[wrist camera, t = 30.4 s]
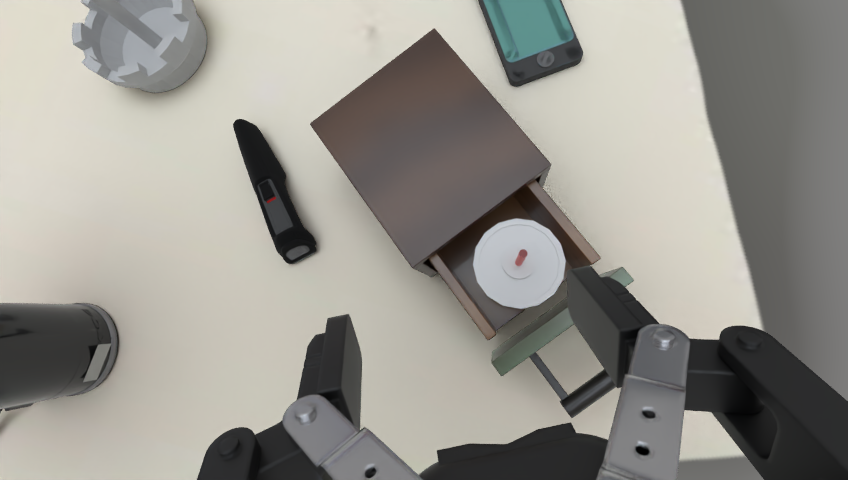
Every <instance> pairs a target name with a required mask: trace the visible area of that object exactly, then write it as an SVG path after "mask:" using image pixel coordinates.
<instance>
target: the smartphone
mask: <svg viewBox="0 0 848 480" xmlns="http://www.w3.org/2000/svg"><path fill="white" fill-rule="evenodd" d="M478 1H479V4H480V6H481V9H482V11H483V14H484V17H485V19H486V22H487V25H488V27H489V30H490V32H491V35H492V38H493V40H494V43H495V45H496V48H497V51H498V53H499V56H500V59H501V61H502V64H503V66H504V69H505V72H506V74H507V77H508V79H509V82H510V84H511V85H513V86H520V85H523V84H525V83H528V82H531V81H534V80H536V79H539V78H542V77H545V76H547V75H550V74H553V73H555V72H558V71H561V70H564V69H566V68H569V67H572V66H575V65H577V64H578V63H580V61H581V58H582V55H583V51H582V48H581V46H580V44H579V41H578V39H577V37H576V34H575V32H574V30H573V27H572V25H571V23H570V20H569V18H568V16H567V13H566V11H565V8H564V6H563V4H562V1H561V0H478Z"/></svg>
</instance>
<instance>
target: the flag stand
mask: <svg viewBox="0 0 848 480" xmlns="http://www.w3.org/2000/svg"><path fill="white" fill-rule="evenodd" d="M81 3H83V4H84V5H85V6H87V7H88V8H89V9H90V11H89V13H88V15H87V17H86V20H85V24H83V23H73V28H72V39H73V45H75V46H77V47H78V48H80V49H81V50H83V52H84V54H85V57H86V58H85V59H84V60H83V61H82V63H83V64H84V65H85V66H86V67H87V68H88V69H90V70H92V71H93V72H95V73H97V74H98V75H100V76H102V77H103V78H105V79H107V80H109V81H110V82H112V83H114V84H116V85H119V86H122V87H129V88H137V87H138V88H140V89H141V90H144V91H147V92H156V93H159V92H165V91H169V90H172V89H174V88H176V87H178V86H180V85H181V84H183V83H184V82H186V81H187V80H188V79H189V78H190V77H191V76H192V75H193V74H194V73H195V72H196V70H197V69H198V67H199V66H200V64H201V62H202V60H203V57H204V55H205V51H206V46H207V35H206V29H205V27H204V24H203V22H202V21H201V19H200V18H199V17H198V15H197V13H196V7H195V5H194V3H193V0H81Z"/></svg>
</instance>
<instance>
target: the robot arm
mask: <svg viewBox="0 0 848 480" xmlns="http://www.w3.org/2000/svg"><path fill="white" fill-rule="evenodd" d="M567 300H568V310H569V314H570V317H571V319H572V321H573V323H574V324H575V326H576V327H577V329H578V330H579V332H580V333H581V335H582V336H583V338H584V339H585V340H586V342H587V343H588V345H589V346H590V348H591V349H592V351H593V352H594V354H595V355H596V357H597V358H598V360H599V361H600V363H601V364H602V366H603V367H604V369H605V370H606V372H607V373H608V375H609V376H610V378H611V379H612V381H613V382H614V384H615V385H616V387H617V388H620V387H622V388H621V392H620V396H619V400H618V404H617V408H616V412H615V416H614V420H613V424H612V428H611V432H610V436H609V440H606V439H603V438H601V437H597V436H593V435H589V434H582V433H576V432H575V430H574V428H573V426H572V424H571V423H566V424H561V425H556V426H552V427H547V428H542V429H538V430H536V431H534V432H532V433H530V434H527V435H525V436H523V437H521V438H519V439H517V440H515V441H513V442H511V443H509V444H466V445H461V446H456V447H452V448H447V449H442V450H437V454H438V461H439V462H437V463H435V464H433V465H431V466H430V467H428V468H427V469H425V470H424V471H423V472H422V473H420V474H419V475H418V474H417V473H415V472H414V471H413V470H412V469H411V468H410V467H409V466H408V465H407V464H406V463H405V462H404V461H402V460H401V459H400V458H399V457H398V456H397V455H396V454H395V453H394V452H393V451H392V450H391V449H389V448H388V447H387V446H386V445H385V444H384V443H383V442H382V441H381V440H380V439H379V438H378V437H376V436H375V435H374V434H373V433H372V432H371V431H370V430H369V429H367V428H363V429H361V430H360V410H361V379H362V357H361V351H360V347H359V344H358V340H357V337H356V334H355V331H354V327H353V324H352V321H351V318H350V316H349V314H346V315H341V316H336V317H331V318H328V319H327V325H326V331H325V333H323V334H318V335H315V336H314V338H313V339H312V341H311V342H310V344H309V345H308V347H307V352H306V359H305V362H304V368H303V372H302V377H301V382H300V387H299V392H298V397H297V400H296V401H295V402H294V403H292V404H291V405H290V406H289V407H288V409H287V410H286V412H285V413H284V416H283V420H282V421H281V422H279V423H278V424H276V425H274V426H272V427H270V428H268V429H266V430H264V431H262V432H260V433H258V434H256V435H254V433H253V431H252V430H250V429H248V428H244V427H239V428H235V429H231V430H229V431H227V432H225V433H223V434H222V435H221V436H219V437H218V438H217V439H216V440H215V441H214V442H213V443H212V444H211V445H210V446H209V448H208V450H207V452H206V454H205V457H204V460H203V463H202V466H201V469H200V472H199V475H198V478H197V480H677V473H678V464H679V455H680V445H681V435H682V425H683V416H684V410H693V411H707V412H712V414H713V415H714V416H715V417H716V419H717V420H718V421H719V422H720V424H721V425H722V426H723V428H724V429H725V430H726V431H727V433H728V434H729V435H730V437H731V438H732V439H733V440H734V442H735V443H736V444H737V445H738V447H739V448H740V449H741V451H742V452H743V453H744V454H745V456H746V457H747V458H748V460H749V461H750V462H751V463H752V464H753V466H754V467H755V468H756V470H757V471H758V472H759V474H760V475H761V476H762V477H763V479H764V480H848V401H846V400H845V399H844V398H843V397H842V396H841V395H840V394H838V393H837V392H836V391H835V390H834V389H832V388H831V387H830V386H829V385H828V384H827V383H826V382H824V381H823V380H822V379H821V378H820V377H818V375H816V374H815V373H814V372H813V371H812V370H811V369H809V368H808V367H807V366H806V365H805V364H804V363H802V362H801V361H800V360H799V359H798V358H797V357H795V356H794V355H793V354H792V353H791V352H789V350H787V349H786V348H785V347H784V346H782V344H780V343H779V342H778V341H777V340H776V339H775V338H773V337H772V336H771V335H769V334H768V333H766V332H764V331H762V330H759V329H756V328H753V327H748V326H731V327H728V328H725V329H724V330H723V331H722V332H721V334H720V338H719V340H704V339H689V338H688V337H687V335H686V334H685V333H683V332H682V331H681V330H679V329H677V328H675V327H672V326H669V325H664V324H659V323H658V322H657V321H656V319H655V318H654V317H653V316H652V315H651V314H650V313H649V312H648V311H647V310H646V309H645V308H644V307H643V306H642V305H641V304H640V303H639V302H638V301H636V298H635V297H634V296H633V295H632V294H631V293H629V291H628V290H627V289H626V288H625V287H624V286H623V285H622V284H621V283H620V282H618V281H616V280H614V279H612V278H610V277H608V276H605V277H600V276H599V275H598V274H597V273H596V272H595V270H594V269H593V268H592V267H591V266H585V267H580V268H575V269H570V270H568V272H567ZM117 344H118V341H117V333H116V329H115V326H114V323H113V321H112V320H111V318H110V317H109V315H108V314H107V313H106V312H105V311H104V310H102V309H101V308H99V307H98V306H95V305H92V304H87V303H75V304H39V303H0V412H1V411H2V409H5V411H9V410H14V409H18V408H23V407H28V406H31V405H32V404H34V403H35V402H40V401H45V400H50V399H55V398H59V397H63V396H73V395H78V394H83V393H86V392H88V391H90V390H92V389H94V388H95V387H97V386H98V385H99V384H100V383H101V382H102V381H103V380H104V379H105V378H106V376H107V375H108V374H109V372H110V370H111V368H112V366H113V364H114V361H115V358H116V353H117Z"/></svg>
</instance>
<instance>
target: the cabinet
mask: <svg viewBox="0 0 848 480" xmlns="http://www.w3.org/2000/svg"><path fill="white" fill-rule="evenodd" d="M310 125H311V126H312V128H313V129H314V131H315V132H316V133H317V135H318V136H319V138H320V139H321V141H322V142H323V143H324V145H325V146H326V148H327V149H328V150H329V152H330V153H331V155H332V156H333V157H334V159H335V160H336V162H337V163H338V164H339V166H340V167H341V169H342V170H343V171H344V173H345V174H346V176H347V177H348V178H349V180H350V181H351V183H352V184H353V185H354V187H355V188H356V190H357V191H358V193H359V194H360V195H361V197H362V198H363V200H364V201H365V202H366V204H367V205H368V207H369V208H370V209H371V211H372V212H373V214H374V215H375V216H376V218H377V219H378V221H379V222H380V223H381V225H382V226H383V228H384V229H385V230H386V232H387V233H388V235H389V236H390V237H391V239H392V240H393V242H394V243H395V245H396V246H397V247H398V249H399V250H400V252H401V253H402V254H403V256H404V257H405V259H406V260H407V261H408V263H409V264H410V266H411V267H412V268H414V269H416V270H418V271H420V272H422V273H424V274H426V275H428V276H430V277H433V276H434V275H436V274H437V273H438V271H437V270H436V269H435V267H434V266H433V264H432V263H431V262H430V260H429V259H428V258H430V257H431V256H432V255H434V254H435V253H436V252H438V251H439V250H441V249H442V248H443V247H445V246H446V245H447V244H449V243H450V242H451V241H453V240H454V239H455V238H457V237H458V236H459V235H461V234H462V233H463V232H465V231H466V230H467V229H469V228H470V227H471V226H473V225H474V224H476V223H477V222H478V221H480V220H481V219H482V218H484V217H485V216H486V215H488V214H489V213H490V212H492V211H493V210H494V209H496V208H497V207H498V206H500V205H501V204H502V203H504V202H505V201H506V200H508V199H509V198H511V197H512V196H513V195H515V194H516V193H517V192H519V191H520V190H521V189H523V188H524V187H525V186H527V185H528V184H529V183H531V182H532V181H533V180H536V181H537V182H538V183H539V185H540V186H541V187H542V188H543V185H544V183H545V180H546V177H547V175H548V172H549V170H550V167H551V163H550V162H549V161H548V160H547V159H546V158H545V156H544V155H543V154H542V153H541V152H540V151H539V149H538V148H537V147H536V146H535V145H534V144H533V142H532V141H531V140H530V139H529V138H528V137H527V135H526V134H525V133H524V132H523V131H522V130H521V128H520V127H519V126H518V125H517V124H516V123H515V121H514V120H513V119H512V118H511V117H510V116H509V115H508V113H507V112H506V111H505V110H504V109H503V108H502V106H501V105H500V104H499V103H498V102H497V101H496V99H495V98H494V97H493V96H492V95H491V94H490V92H489V91H488V90H487V89H486V88H485V87H484V85H483V84H482V83H481V82H480V81H479V80H478V78H477V77H476V76H475V75H474V74H473V73H472V71H471V70H470V69H469V68H468V67H467V66H466V64H465V63H464V62H463V61H462V60H461V59H460V57H459V56H458V55H457V54H456V53H455V52H454V50H453V49H452V48H451V47H450V46H449V45H448V43H447V42H446V41H445V40H444V39H443V38H442V36H441V35H440V34H439V33H438V32H437V31H436V30H435V29H433V30H431V31H430V32H429V33H428V34H426V35H425V36H424V37H422V38H421V39H420V40H418V41H417V42H416V43H414V44H413V45H412V46H411V47H409V48H408V49H407V50H405V51H404V52H403V53H401V54H400V55H399V56H398V57H396V58H395V59H394V60H392V61H391V62H390V63H388V64H387V65H386V66H384V67H383V68H382V69H381V70H379V71H378V72H377V73H375V74H374V75H373V76H371V77H370V78H369V79H368V80H366V81H365V82H364V83H362V84H361V85H360V86H358V87H357V88H356V89H354V90H353V91H352V92H351V93H349V94H348V95H347V96H345V97H344V98H343V99H341V100H340V101H339V102H338V103H336V104H335V105H334V106H332V107H331V108H330V109H328V110H327V111H326V112H324V113H323V114H322V115H321V116H319V117H318V118H317V119H315V120H314V121H313V122H311V123H310Z"/></svg>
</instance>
